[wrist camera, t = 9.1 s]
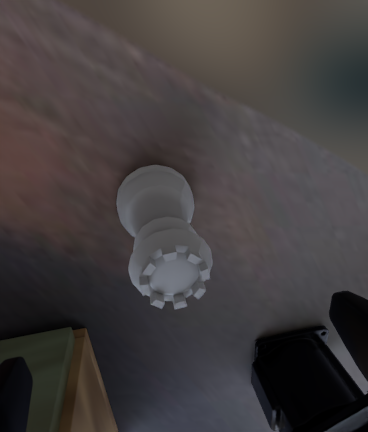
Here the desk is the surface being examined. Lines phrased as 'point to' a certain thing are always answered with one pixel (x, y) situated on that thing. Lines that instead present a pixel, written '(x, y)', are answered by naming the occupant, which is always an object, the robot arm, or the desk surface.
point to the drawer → (44, 373)
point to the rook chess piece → (163, 236)
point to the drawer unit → (85, 392)
